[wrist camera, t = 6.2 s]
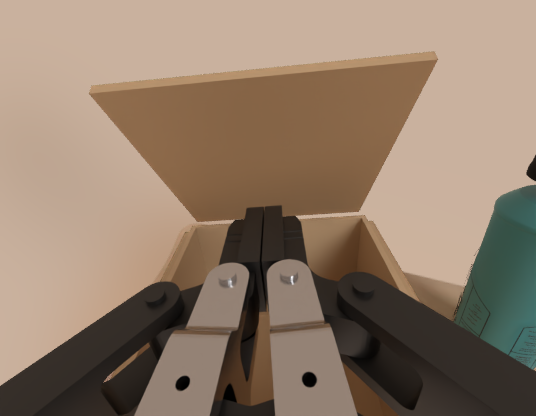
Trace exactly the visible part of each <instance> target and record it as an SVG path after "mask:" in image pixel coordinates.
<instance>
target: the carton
mask: <svg viewBox="0 0 536 416" xmlns="http://www.w3.org/2000/svg"><path fill="white" fill-rule="evenodd" d="M299 221H300V222H301V225H302V232H303V238H304V244H305V250H306V256H307V262H308V266H309V268H310V269H311V270H312V271H313V272H314V273H315V274H317V275H318V276H320V277H323V278H326V279H330V280H335V281H339V280H340V279H341V278H342V277H343V276H344V275H346V274H348V273H352V272H366V273H370V274H372V275H375V276H377V277H378V278H380V279H382V280H383V281H385V282H387V283H388V284H390V285H392V286H393V287H395V288H397V289H398V290H400V291H402V292H404V293H405V294H407V295H409V296H410V297H412V298H414V299H415V300H417V301H419V299H418V297H417V296H416V294H415V292H414V290H413V289H412V287H411V285H410V284H409V282H408V280H407V278H406V277H405V275H404V273H403V272H402V270H401V268H400V267H399V265H398V263H397V261H396V260H395V258H394V256H393V255H392V253H391V251H390V249H389V248H388V246H387V244H386V243H385V241H384V239H383V238H382V236H381V234H380V233H379V231H378V229H377V227H376V226H375V224H374V222H373V221H368V220H367V219H366V217H365V215H361V216H346V217H330V218H312V219H299ZM230 225H231V224H218V225H217V224H216V225H200V226H192V228H191V230H190V232H185V234H184V236H183V238H182V240H181V242H180V244H179V246H178V248H177V250H176V252H175V254H174V255H173V257H172V259H171V261H170V263H169V265H168V267H167V269H166V271H165V273H164V275H163V277H162V279H161V281H160V282H163V281H168V282H173V283H175V284H176V285H177V286H178V287H179V289H180V291H182V290H185V289H189V288H192V287H195V286H198V285H201V284H203V283H204V282H205V279H206V277H207V275H208V274H209V272H210V271H211V270H213V269H214V268H215V267H217V266H218V265H219V261H220V258H221V254H222V250H223V246H224V243H225V239H226V236H227V231H228V227H229V226H230ZM419 302H420V301H419ZM420 303H421V302H420ZM258 330H259V333H258V341H257V348H256V355H255V362H254V369H253V377H252V384H251V406H253V405H257V404H260V403H263V402H266V401H269V400H272V399H274V389H273V374H272V360H271V345H270V315H269V312H268V306H267V308H266V312H259V324H258ZM149 347H150V345H149V343H147V344H146V345H145V346H143V347H142V348H141V349H140V350H139V351H137V352H136V353H135V354H134V355H133V356H131V357H130V358H129V359H128V360H126V361H125V362H124V363H123V364H122V365H120V366H119V367H118V368H117V369H116V370H115V371H114V373H113V375H112V377H111V379H112V378H113V377H114V376H115V375H116V374H118V373H119V372H120V371H121V370H122V369H124V368H125V367H126V366H127V365H128V364H130V363H131V362H132V361H133V360H134V359H136V358H137V357H138V356H139V355H140V354H142V353H143V352H144V351H145V350H146V349H148V348H149ZM342 365H343V368H344V372H345V375H346V378H347V382H348V385H349V388H350V392H351V395H352V399H353V402H354V405H355V409H356V412H358V413H360V414H361V415H363V416H399V415H398V414H397V413H396V412H395V411H394V410H393V409H391V408H390V407H389V406H388V405H387V404H386V403H385V402H384V401H383V400H382V399H381V398H380V397H379V396H378V395H377V394H376V393H375V392H374V391H373V390H372V389H370V388H369V387H368V386H367V385H366V384H365V383H364V382H363V381H362V380H361V379H360V378H359V377H358V376H357V375H356V374H355V373H354V372H353V371H352V370H351V369H349V368H348V367H347V366H346V365H345V364H344V363H343V362H342Z"/></svg>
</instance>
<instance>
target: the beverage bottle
mask: <svg viewBox="0 0 536 416" xmlns="http://www.w3.org/2000/svg"><path fill="white" fill-rule="evenodd" d="M527 176H528V177H530V178H531V179H533V180H534V181H536V155H535V158H534V159H533V161H532V162H531V164H530V165H529V167H528V170H527ZM471 267H472V266H471ZM461 293H462V292H461ZM460 297H461V296H460ZM459 300H460V298H459ZM458 303H459V301H458ZM457 306H458V304H457ZM456 309H457V307H456ZM455 312H456V310H455ZM455 314H456V316H455V318H454V323H455V324H457V325H459V326H460V327H462V328H464V329H466V330H467V331H469V332H471V333H472V334H474V335H476V336H477V337H479V338H481V339H482V340H484V341H486V342H487V343H489V344H491V345H492V346H494V347H496V348H497V349H499V350H501V351H502V352H504V353H506V354H507V355H509V356H511V357H512V358H514V359H516V360H517V361H519V362H521V363H522V364H524V365H526V366H527V367H529V368H531V369H534V368H535V367H536V185H530V186H526V187H522V188H519V189H517V190H513V191H511V192H508V193H506V194H504V195H502V196H500V197H499V198H498V199H497V200H496V202H495V206H494V211H493V214H492V217H491V220H490V223H489V225H488V228H487V231H486V233H485V236H484V239H483V241H482V244H481V247H480V250H479V252H478V254H477V257H476V259H475V262H474V264H473V267H472V270H471V273H470V276H469V279H468V282H467V285H466V286H465V289H464V292H463V295H462V298H461V301H460V304H459V306H458V309H457V312H456V313H454V315H455Z"/></svg>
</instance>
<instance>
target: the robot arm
mask: <svg viewBox="0 0 536 416" xmlns="http://www.w3.org/2000/svg"><path fill="white" fill-rule="evenodd" d="M267 306H268V312H269V315H270V345H271V360H272V374H273V389H274V399H272V400H269V401H266V402H263V403H260V404H257V405H253V406H251V384H252V377H253V369H254V362H255V355H256V348H257V341H258V333H259V330H258V324H259V312H266V308H267ZM147 343H149V345H150V347H149V348H148V349H146V350H145V351H144V352H143V353H142V354H140V355H139V356H138V357H137V358H136V359H134V360H133V361H132V362H131V363H130V364H128V365H127V366H126V367H125V368H124V369H122V370H121V371H120V372H119V373H118V374H116V375H115V376H114V377H113V378H112V379H110V380H109V381H107V382H104V380H105V379H106V378H107V377H108V376H109V375H110V374H111V373H112V372H113V371H114V370H116V369H117V368H118V367H119V366H120V365H122V364H123V363H124V362H125V361H126V360H128V359H129V358H130V357H131V356H133V355H134V354H135V353H136V352H137V351H139V350H140V349H141V348H142V347H143V346H145V345H146V344H147ZM342 362H343V363H344V364H345V365H346V366H347V367H348V368H349V369H351V370H352V371H353V372H354V373H355V374H356V375H357V376H358V377H359V378H360V379H361V380H362V381H363V382H364V383H365V384H366V385H367V386H368V387H369V388H370V389H372V390H373V391H374V392H375V393H376V394H377V395H378V396H379V397H380V398H381V399H382V400H383V401H384V402H385V403H386V404H387V405H388V406H389V407H390V408H391V409H393V410H394V411H395V412H396V413H397V414H398V415H399V416H536V371H534V370H533V369H531V368H529V367H527V366H526V365H524V364H522V363H521V362H519V361H517V360H516V359H514V358H512V357H511V356H509V355H507V354H506V353H504V352H502V351H501V350H499V349H497V348H496V347H494V346H492V345H491V344H489V343H487V342H486V341H484V340H482V339H481V338H479V337H477V336H476V335H474V334H472V333H471V332H469V331H467V330H466V329H464V328H462V327H460V326H459V325H457V324H455V323H454V322H452V321H450V320H449V319H447V318H445V317H444V316H442V315H440V314H439V313H437V312H435V311H434V310H432V309H430V308H429V307H427V306H425V305H424V304H422V303H420V302H419V301H417V300H415V299H414V298H412V297H410V296H409V295H407V294H405V293H404V292H402V291H400V290H398V289H397V288H395V287H393V286H392V285H390V284H388V283H387V282H385V281H383V280H382V279H380V278H378V277H377V276H375V275H372V274H370V273H366V272H352V273H348V274H346V275H344V276H343V277H342V278H341V279H340V280H339V281H335V280H330V279H326V278H323V277H320V276H318V275H317V274H315V273H314V272H313V271H312V270H311V269H310V268H309V266H308V262H307V256H306V250H305V244H304V238H303V232H302V225H301V222H300V221H299V219H298V218H297V217H296V216H284V217H283V214H282V205H277V206H265V210H264V206H263V207H249V208H247V209H246V214H245V219H240V220H235V221H234V222H233V223H232V224H231V225H230V226H229V227H228V231H227V236H226V239H225V243H224V246H223V250H222V254H221V258H220V261H219V265H218V266H217V267H215V268H214V269H213V270H211V271H210V272H209V274H208V275H207V277H206V279H205V282H204V283H203V284H201V285H198V286H195V287H192V288H189V289H185V290H182V291H180V289H179V287H178V286H177V285H176V284H175V283H173V282H168V281H163V282H158V283H155V284H152V285H150V286H148V287H146V288H144V289H143V290H142V291H140V292H139V293H137V294H136V295H134V296H133V297H131V298H130V299H128V300H127V301H126V302H124V303H122V304H121V305H119V306H118V307H116V308H115V309H113V310H112V311H111V312H109V313H107V314H106V315H105V316H103V317H102V318H100V319H99V320H97V321H96V322H94V323H93V324H91V325H90V326H88V327H87V328H85V329H84V330H82V331H81V332H79V333H78V334H76V335H75V336H73V337H72V338H71V339H69V340H68V341H66V342H65V343H63V344H62V345H60V346H59V347H57V348H56V349H54V350H53V351H52V352H50V353H48V354H47V355H45V356H44V357H42V358H41V359H39V360H38V361H36V362H35V363H33V364H32V365H31V366H29V367H28V368H26V369H25V370H23V371H22V372H20V373H19V374H17V375H16V376H14V377H13V378H11V379H10V380H8V381H7V382H5V383H4V384H3V385H1V386H0V416H363V415H361V414H360V413H358V412H356V409H355V405H354V402H353V399H352V395H351V392H350V388H349V385H348V382H347V378H346V375H345V372H344V368H343V365H342ZM103 382H104V383H103Z"/></svg>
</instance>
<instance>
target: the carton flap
mask: <svg viewBox="0 0 536 416" xmlns="http://www.w3.org/2000/svg"><path fill="white" fill-rule="evenodd" d="M437 60H438V58H437V56H436V54H435V52H423V53H414V54H404V55H394V56H383V57H373V58H363V59H354V60H344V61H335V62H323V63H313V64H303V65H293V66H284V67H274V68H263V69H255V70H254V69H253V70H244V71H233V72H223V73H213V74H203V75H193V76H183V77H173V78H163V79H154V80H144V81H134V82H123V83H113V84H103V85H93V86H91V89H90V92H89V94H90V95H91V97H92V98H93V99H94V100H95V101H96V102H97V104H98V105H99V106H100V107H101V108H102V110H103V111H104V112H105V113H106V114H107V115H108V117H109V118H110V119H111V120H112V121H113V122H114V124H115V125H116V126H117V127H118V128H119V130H120V131H121V132H122V133H123V134H124V135H125V137H126V138H127V139H128V140H129V141H130V143H131V144H132V145H133V146H134V147H135V148H136V150H137V151H138V152H139V153H140V154H141V156H142V157H143V158H144V159H145V160H146V162H147V163H148V164H149V165H150V166H151V167H152V169H153V170H154V171H155V172H156V173H157V174H158V176H159V177H160V178H161V179H162V180H163V182H164V183H165V184H166V185H167V186H168V187H169V189H170V190H171V191H172V192H173V193H174V195H175V196H176V197H177V198H178V199H179V201H180V202H181V203H182V204H183V205H184V206H185V208H186V209H187V210H188V211H189V212H190V213H191V215H192V216H193V217H194V218H195V219H196V221H197V222H203V221H218V220H233V219H234V220H235V219H245V214H246V209H247V208H249V207H263V206H264V210H265V206H277V205H282V214H283V216H297V215H313V214H328V213H344V212H359V210H360V208H361V206H362V205H363V202H364V201H365V199H366V197H367V195H368V193H369V191H370V189H371V187H372V185H373V183H374V182H375V180H376V178H377V176H378V174H379V172H380V170H381V168H382V166H383V164H384V162H385V160H386V158H387V157H388V155H389V153H390V151H391V149H392V147H393V145H394V143H395V141H396V139H397V137H398V135H399V133H400V131H401V130H402V128H403V126H404V124H405V122H406V120H407V118H408V116H409V114H410V112H411V110H412V108H413V106H414V104H415V103H416V101H417V99H418V97H419V95H420V93H421V91H422V89H423V87H424V85H425V83H426V81H427V80H428V77H429V76H430V74H431V72H432V70H433V68H434V66H435V64H436V62H437Z"/></svg>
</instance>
